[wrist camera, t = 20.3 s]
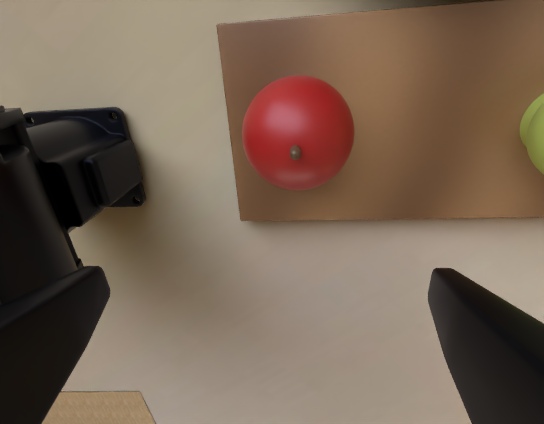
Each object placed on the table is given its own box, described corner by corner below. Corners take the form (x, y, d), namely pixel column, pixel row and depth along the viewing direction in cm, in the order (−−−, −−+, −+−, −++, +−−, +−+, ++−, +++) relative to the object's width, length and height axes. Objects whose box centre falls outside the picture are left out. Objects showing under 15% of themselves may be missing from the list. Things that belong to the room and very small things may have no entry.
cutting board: (244, 210, 22) (240, 221, 21) (223, 26, 17) (216, 24, 16) (601, 205, 19) (623, 216, 18) (695, -15, 14) (735, -21, 13)
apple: (255, 170, 19) (235, 217, 13) (247, 74, 17) (218, 85, 11) (345, 167, 18) (361, 216, 13) (349, 68, 16) (371, 76, 11)
